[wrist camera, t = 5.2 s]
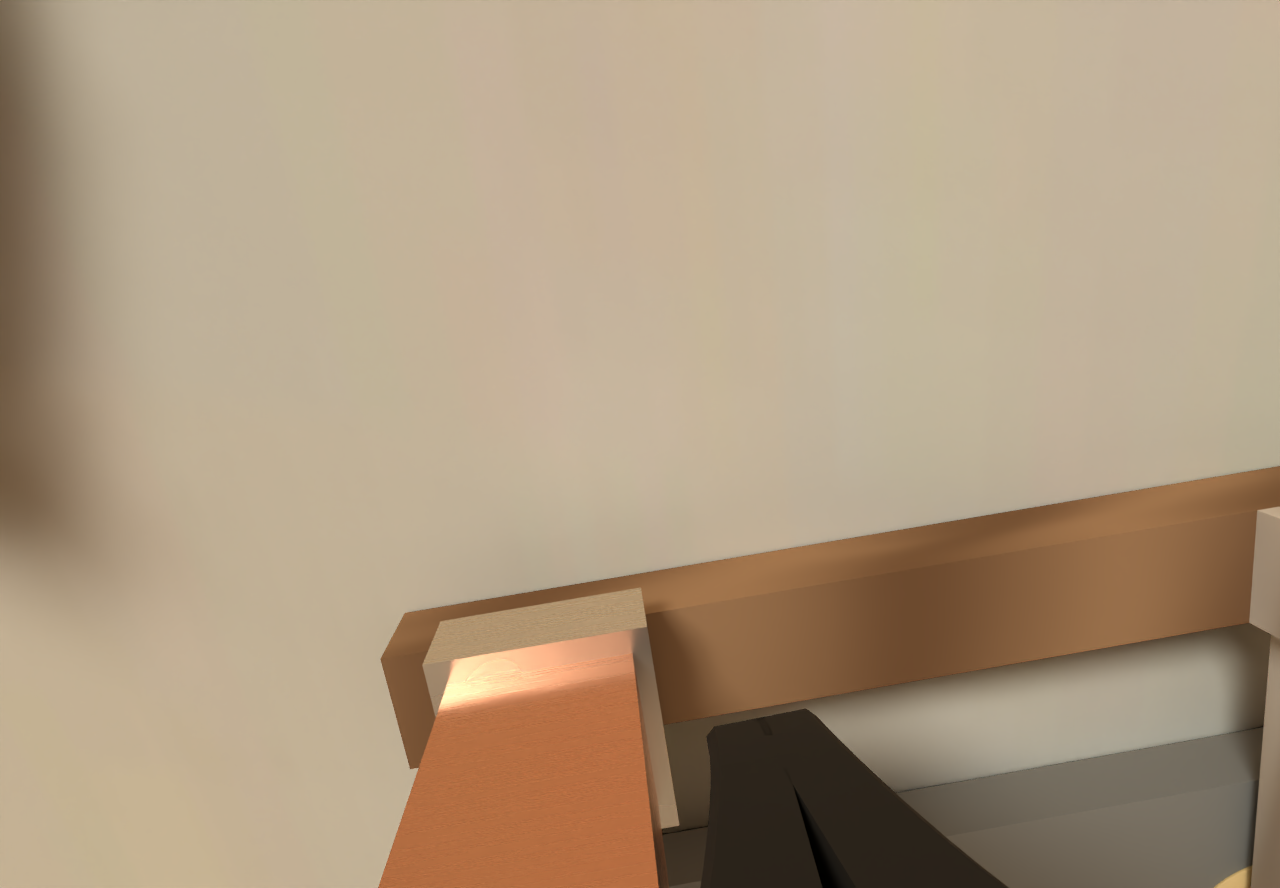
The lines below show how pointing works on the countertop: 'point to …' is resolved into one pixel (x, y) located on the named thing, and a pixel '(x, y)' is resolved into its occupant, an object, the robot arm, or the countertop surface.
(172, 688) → the countertop surface
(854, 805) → the robot arm
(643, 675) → the orange handled lever
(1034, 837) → the bolt plate
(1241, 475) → the rail
